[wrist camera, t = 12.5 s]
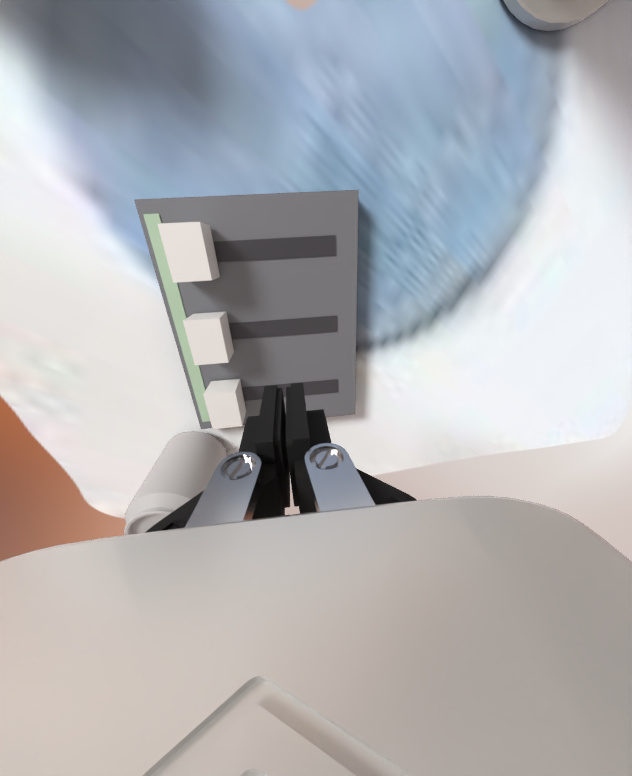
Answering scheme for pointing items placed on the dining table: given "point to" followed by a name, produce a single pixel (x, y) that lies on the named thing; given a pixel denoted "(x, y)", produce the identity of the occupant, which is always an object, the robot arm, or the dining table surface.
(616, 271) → the dining table surface
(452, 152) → the dining table surface
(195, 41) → the dining table surface
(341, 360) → the breaker panel
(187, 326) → the handle
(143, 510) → the can
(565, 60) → the dining table surface
